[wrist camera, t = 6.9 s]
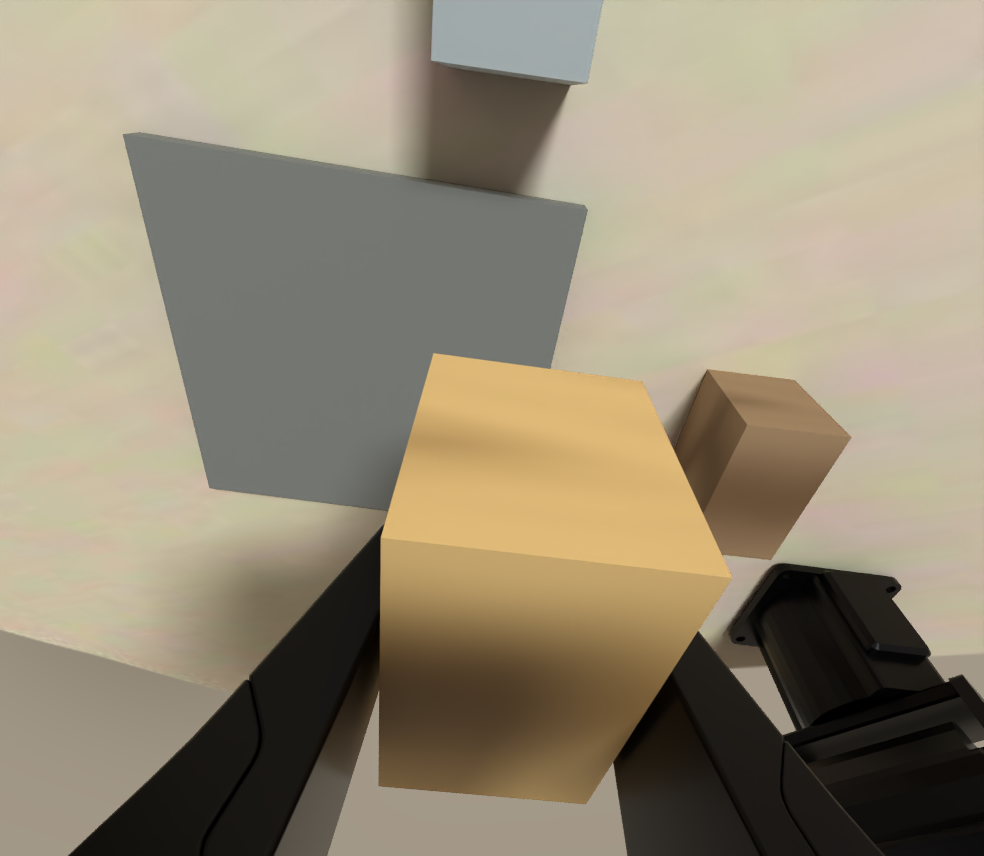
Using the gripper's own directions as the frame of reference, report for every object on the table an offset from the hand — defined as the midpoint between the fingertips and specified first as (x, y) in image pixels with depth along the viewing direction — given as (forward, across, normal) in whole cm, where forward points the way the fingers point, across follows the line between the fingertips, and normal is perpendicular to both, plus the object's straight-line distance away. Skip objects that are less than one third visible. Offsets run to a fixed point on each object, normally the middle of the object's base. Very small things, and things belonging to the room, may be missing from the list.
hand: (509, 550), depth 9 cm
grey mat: (+11, +5, +3) cm, 13 cm away
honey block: (+1, 0, 0) cm, 1 cm away
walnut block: (+11, -10, +4) cm, 15 cm away
